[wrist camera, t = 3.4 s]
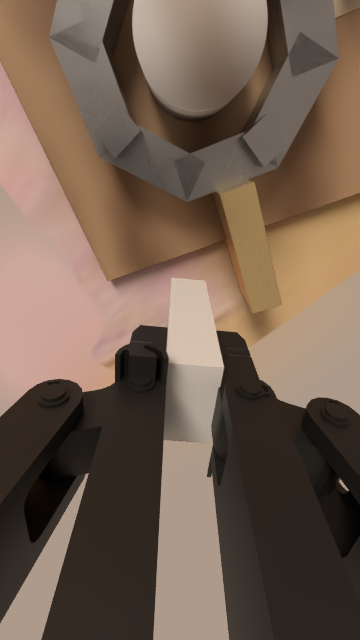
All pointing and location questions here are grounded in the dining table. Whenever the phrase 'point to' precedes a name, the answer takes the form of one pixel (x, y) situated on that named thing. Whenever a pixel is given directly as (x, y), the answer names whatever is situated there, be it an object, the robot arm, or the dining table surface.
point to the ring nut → (217, 159)
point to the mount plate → (143, 205)
